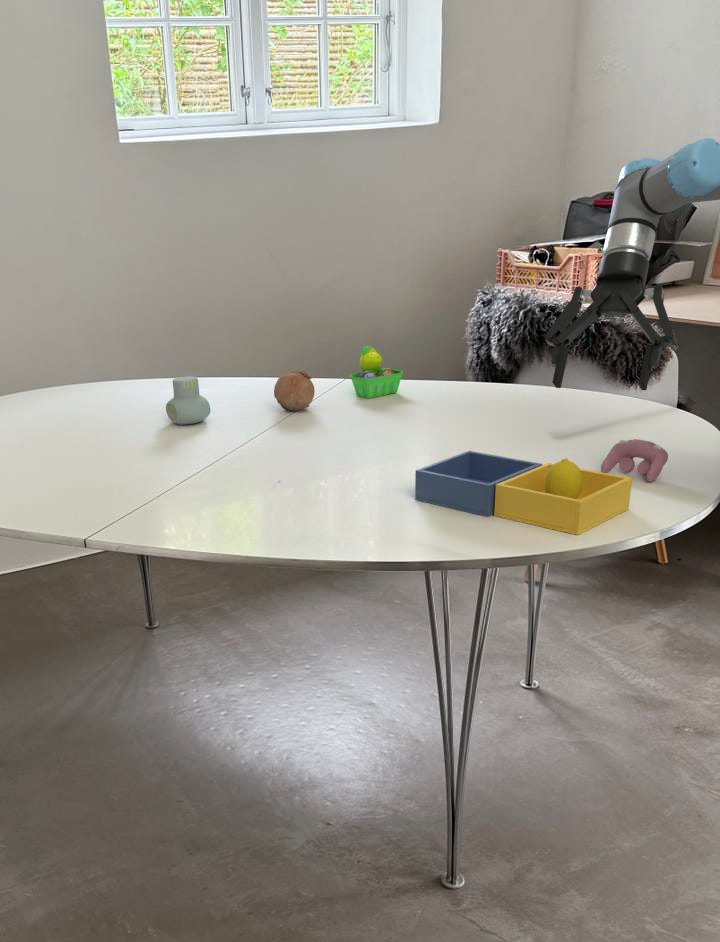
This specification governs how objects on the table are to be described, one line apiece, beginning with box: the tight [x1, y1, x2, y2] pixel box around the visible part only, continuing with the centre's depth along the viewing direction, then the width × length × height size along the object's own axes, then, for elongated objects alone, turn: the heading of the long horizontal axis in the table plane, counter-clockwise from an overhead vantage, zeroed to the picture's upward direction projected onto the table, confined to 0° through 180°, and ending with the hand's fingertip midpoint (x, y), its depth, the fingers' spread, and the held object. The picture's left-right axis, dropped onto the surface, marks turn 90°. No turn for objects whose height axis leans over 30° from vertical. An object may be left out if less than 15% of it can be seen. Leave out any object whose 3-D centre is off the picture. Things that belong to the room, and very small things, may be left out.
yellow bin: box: [493, 462, 633, 536], centre depth 147 cm, size 15×15×5 cm
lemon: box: [544, 458, 582, 499], centre depth 147 cm, size 6×6×8 cm
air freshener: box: [165, 375, 211, 426], centre depth 220 cm, size 11×8×10 cm
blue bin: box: [414, 450, 543, 517], centre depth 157 cm, size 15×15×5 cm
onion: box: [273, 369, 316, 413], centre depth 224 cm, size 10×9×10 cm
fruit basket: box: [349, 345, 404, 399], centre depth 233 cm, size 11×9×11 cm
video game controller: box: [600, 438, 669, 483], centre depth 162 cm, size 10×5×7 cm, turn 41°
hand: (598, 386), depth 154 cm, fingers open, 13 cm apart
